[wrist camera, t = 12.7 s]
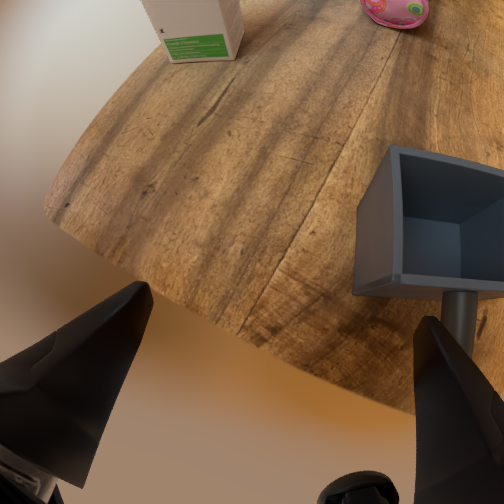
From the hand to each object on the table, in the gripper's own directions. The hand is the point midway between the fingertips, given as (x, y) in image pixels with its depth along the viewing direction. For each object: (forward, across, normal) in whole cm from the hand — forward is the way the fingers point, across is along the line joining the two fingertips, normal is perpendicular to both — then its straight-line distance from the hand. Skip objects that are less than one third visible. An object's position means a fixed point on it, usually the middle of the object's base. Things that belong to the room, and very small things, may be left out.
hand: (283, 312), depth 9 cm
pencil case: (+41, -13, -21) cm, 48 cm away
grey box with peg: (+12, -10, +8) cm, 17 cm away
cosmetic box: (+30, +12, -10) cm, 34 cm away
